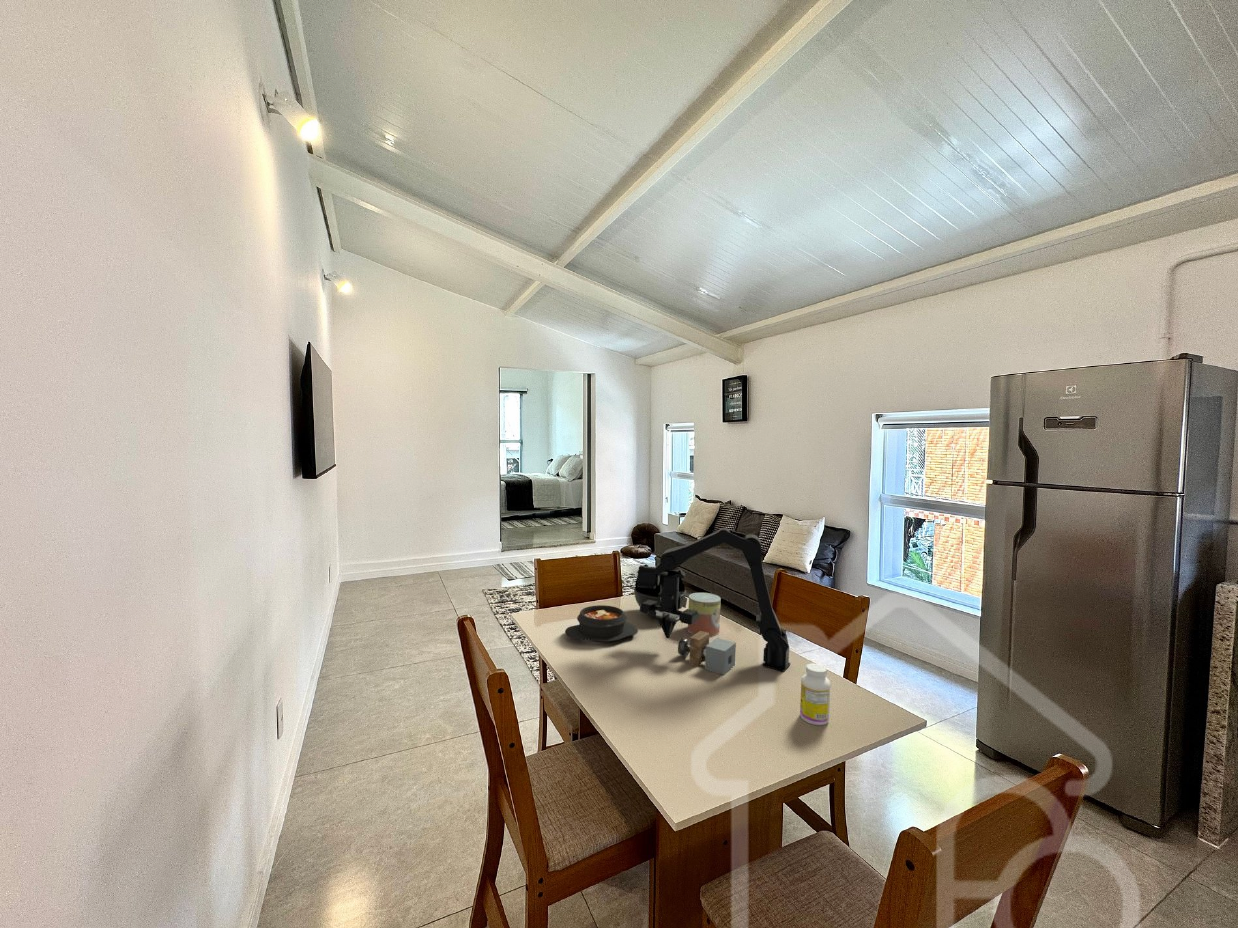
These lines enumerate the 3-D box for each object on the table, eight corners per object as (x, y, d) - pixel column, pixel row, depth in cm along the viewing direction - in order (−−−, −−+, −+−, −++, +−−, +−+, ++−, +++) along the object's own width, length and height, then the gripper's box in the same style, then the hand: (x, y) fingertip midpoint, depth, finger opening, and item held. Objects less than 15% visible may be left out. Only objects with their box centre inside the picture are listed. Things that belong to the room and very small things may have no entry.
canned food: (710, 639, 172) (711, 604, 172) (681, 630, 179) (682, 597, 179) (725, 629, 181) (726, 596, 181) (697, 622, 188) (698, 590, 188)
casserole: (571, 650, 160) (571, 624, 160) (560, 629, 178) (560, 605, 177) (645, 643, 167) (646, 618, 167) (627, 623, 185) (628, 600, 185)
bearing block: (734, 665, 152) (735, 642, 152) (724, 674, 146) (724, 651, 146) (716, 659, 156) (717, 637, 156) (705, 669, 149) (705, 645, 149)
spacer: (708, 658, 157) (709, 633, 157) (698, 666, 151) (699, 639, 151) (699, 655, 159) (700, 630, 158) (689, 663, 153) (690, 637, 153)
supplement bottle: (805, 708, 129) (807, 658, 128) (832, 718, 124) (834, 666, 124) (795, 719, 123) (797, 667, 123) (823, 729, 119) (826, 676, 119)
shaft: (723, 662, 153) (724, 646, 153) (716, 668, 149) (717, 651, 149) (685, 651, 160) (685, 635, 160) (677, 656, 156) (678, 640, 156)
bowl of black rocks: (696, 619, 191) (698, 570, 190) (653, 628, 181) (654, 576, 180) (664, 604, 208) (666, 558, 207) (623, 611, 198) (624, 564, 197)
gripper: (707, 589, 162) (706, 637, 162) (657, 579, 172) (655, 624, 173) (691, 597, 152) (689, 648, 153) (639, 586, 163) (638, 633, 164)
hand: (668, 638), depth 161 cm, fingers closed
